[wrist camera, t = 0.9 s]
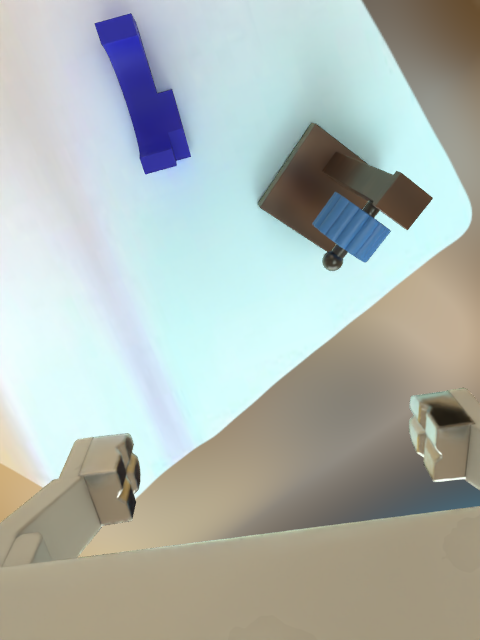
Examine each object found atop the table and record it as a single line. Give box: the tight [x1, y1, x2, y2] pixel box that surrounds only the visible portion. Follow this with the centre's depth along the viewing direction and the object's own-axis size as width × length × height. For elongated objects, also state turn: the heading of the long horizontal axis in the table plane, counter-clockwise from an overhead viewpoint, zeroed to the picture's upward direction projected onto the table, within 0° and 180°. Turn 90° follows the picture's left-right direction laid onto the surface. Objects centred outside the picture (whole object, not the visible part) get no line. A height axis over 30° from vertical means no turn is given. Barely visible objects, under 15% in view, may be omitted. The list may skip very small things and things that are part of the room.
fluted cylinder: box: [312, 192, 391, 262], centre depth 41 cm, size 3×6×6 cm, turn 56°
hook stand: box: [258, 123, 433, 271], centre depth 44 cm, size 10×10×17 cm
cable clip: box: [95, 13, 191, 174], centre depth 42 cm, size 12×4×6 cm, turn 14°
